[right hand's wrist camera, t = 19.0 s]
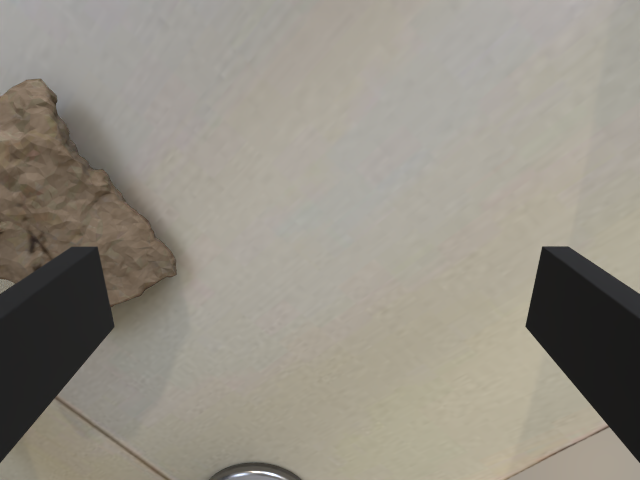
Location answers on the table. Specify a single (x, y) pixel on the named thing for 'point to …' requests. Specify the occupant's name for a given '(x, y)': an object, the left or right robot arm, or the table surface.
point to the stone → (66, 202)
